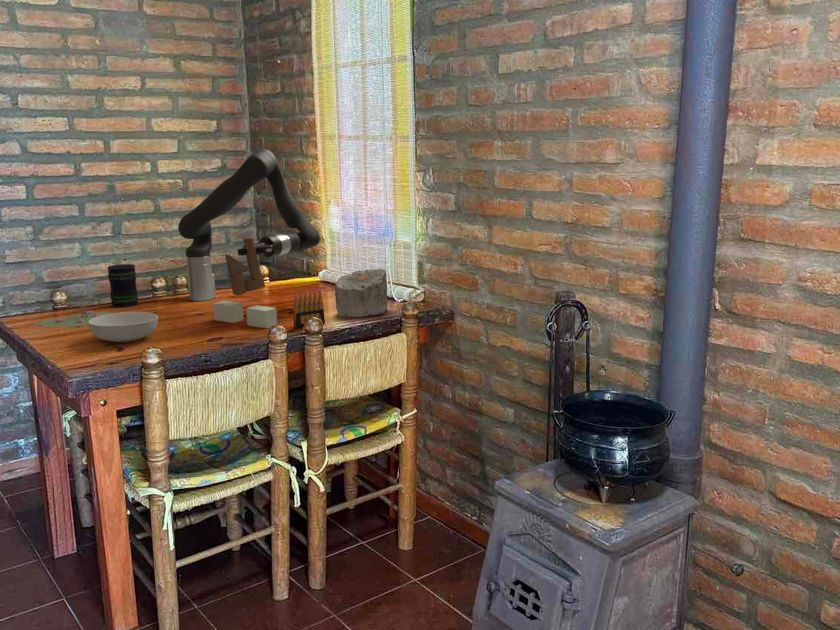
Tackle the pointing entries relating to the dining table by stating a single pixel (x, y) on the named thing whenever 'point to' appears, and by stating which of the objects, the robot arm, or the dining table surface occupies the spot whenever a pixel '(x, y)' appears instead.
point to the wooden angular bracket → (245, 270)
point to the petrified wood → (361, 293)
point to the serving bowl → (123, 326)
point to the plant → (72, 319)
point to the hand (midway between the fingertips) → (239, 252)
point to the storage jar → (123, 285)
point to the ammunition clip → (308, 308)
